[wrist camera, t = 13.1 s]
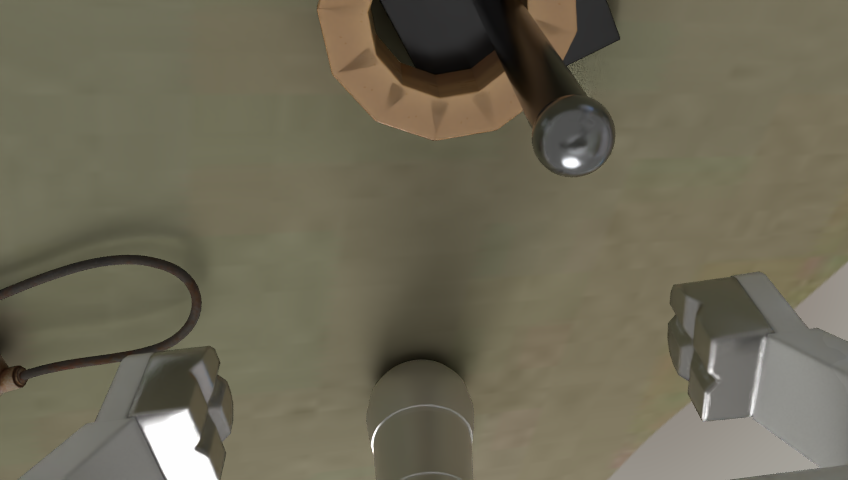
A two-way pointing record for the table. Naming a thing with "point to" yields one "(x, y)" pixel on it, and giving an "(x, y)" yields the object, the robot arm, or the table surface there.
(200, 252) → the table surface
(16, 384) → the telephone
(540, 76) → the stand
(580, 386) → the table surface
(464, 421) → the plastic bottle
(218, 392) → the robot arm
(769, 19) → the table surface
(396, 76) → the ring
